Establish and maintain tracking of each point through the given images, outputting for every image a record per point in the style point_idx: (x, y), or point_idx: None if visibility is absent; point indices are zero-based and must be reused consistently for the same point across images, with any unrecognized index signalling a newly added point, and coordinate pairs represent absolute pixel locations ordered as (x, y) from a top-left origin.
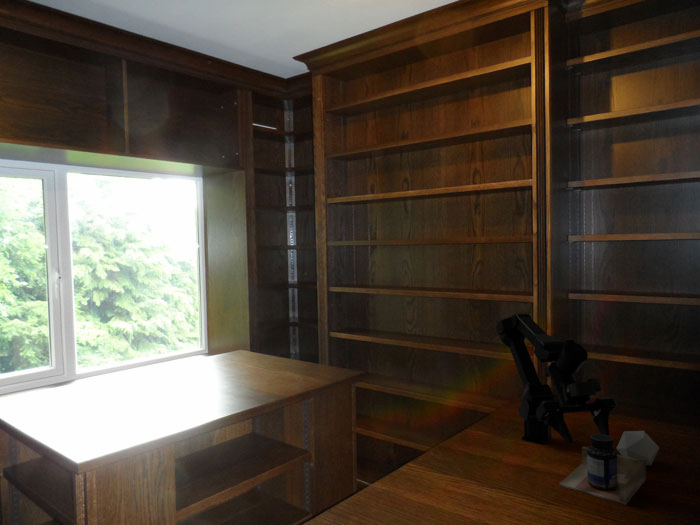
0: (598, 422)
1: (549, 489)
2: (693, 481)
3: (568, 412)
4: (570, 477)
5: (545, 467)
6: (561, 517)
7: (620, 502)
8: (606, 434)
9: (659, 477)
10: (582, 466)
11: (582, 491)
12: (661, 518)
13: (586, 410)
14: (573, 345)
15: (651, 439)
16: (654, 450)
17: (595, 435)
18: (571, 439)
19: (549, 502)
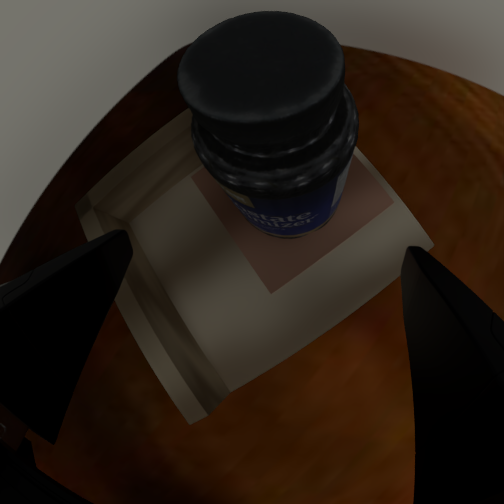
0: (49, 368)
1: (471, 226)
2: (42, 194)
3: None
4: (365, 285)
5: (388, 406)
6: (481, 91)
7: None
8: (103, 243)
9: (76, 229)
10: (247, 368)
11: (381, 177)
12: None
13: (38, 473)
14: None
15: None
16: (10, 281)
17: (274, 93)
18: (419, 252)
19: (493, 155)
